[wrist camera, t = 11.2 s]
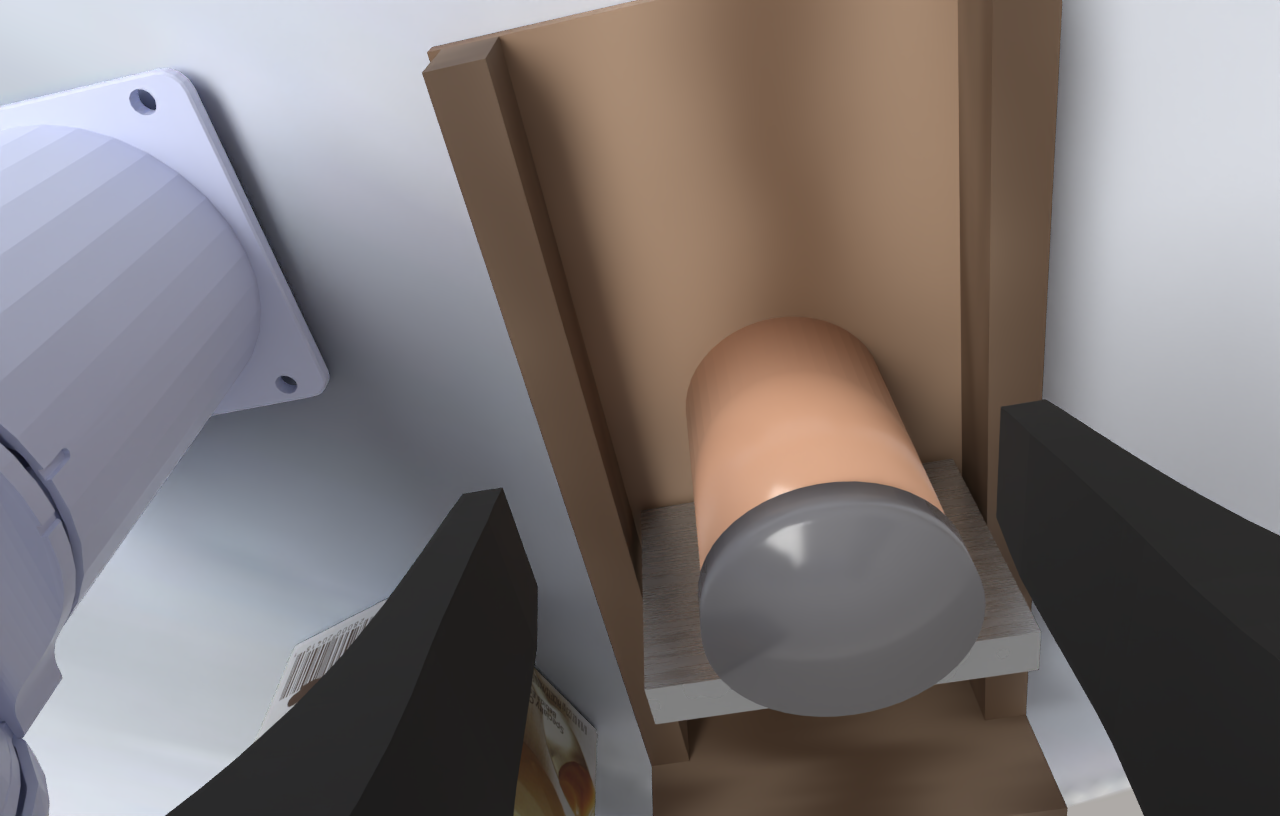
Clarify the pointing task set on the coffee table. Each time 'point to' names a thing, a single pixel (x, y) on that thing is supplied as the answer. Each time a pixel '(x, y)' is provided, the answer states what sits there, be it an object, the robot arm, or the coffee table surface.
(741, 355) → the jar
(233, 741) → the coffee table surface
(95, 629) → the coffee table surface
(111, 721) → the coffee table surface
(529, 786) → the coffee box
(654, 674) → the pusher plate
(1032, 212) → the pusher lane
